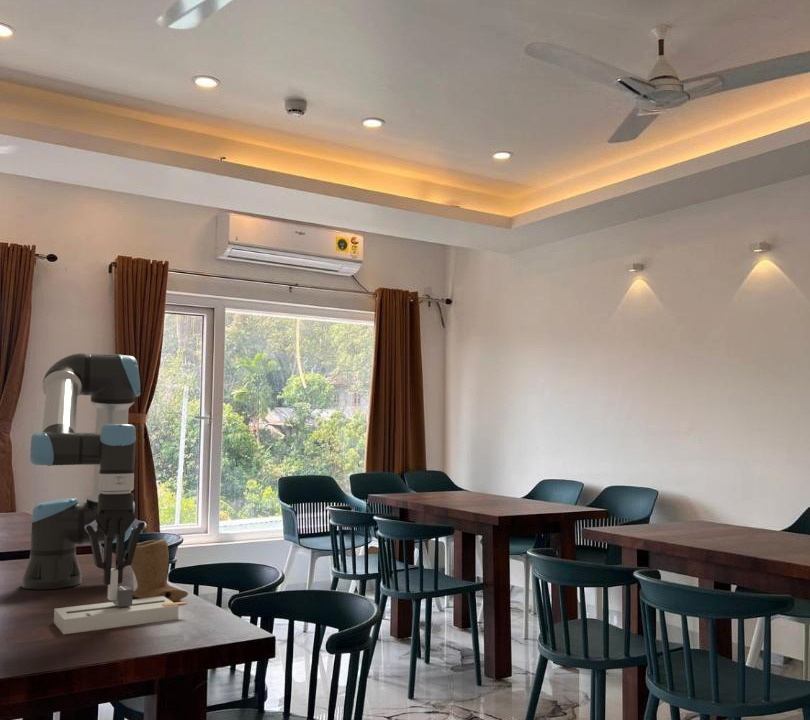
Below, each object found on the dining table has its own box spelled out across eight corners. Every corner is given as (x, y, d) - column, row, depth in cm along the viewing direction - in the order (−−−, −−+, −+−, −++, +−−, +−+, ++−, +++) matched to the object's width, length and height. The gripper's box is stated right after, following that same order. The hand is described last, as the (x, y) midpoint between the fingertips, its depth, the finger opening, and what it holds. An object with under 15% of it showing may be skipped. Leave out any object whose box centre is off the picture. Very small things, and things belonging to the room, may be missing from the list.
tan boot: (119, 598, 194) (121, 538, 196) (165, 592, 202) (166, 534, 203) (141, 609, 183) (143, 545, 184) (189, 602, 190) (190, 540, 192)
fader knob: (112, 602, 173) (113, 586, 174) (126, 601, 175) (127, 585, 175) (118, 607, 169) (118, 590, 169) (132, 605, 171) (132, 589, 171)
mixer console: (53, 622, 169) (54, 607, 170) (171, 607, 184) (171, 594, 184) (63, 634, 159) (64, 618, 160) (187, 617, 174) (187, 603, 174)
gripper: (89, 494, 166) (84, 605, 164) (149, 492, 174) (146, 598, 171) (82, 492, 173) (77, 599, 170) (141, 490, 180) (137, 592, 178)
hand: (112, 598), depth 171 cm, fingers closed
